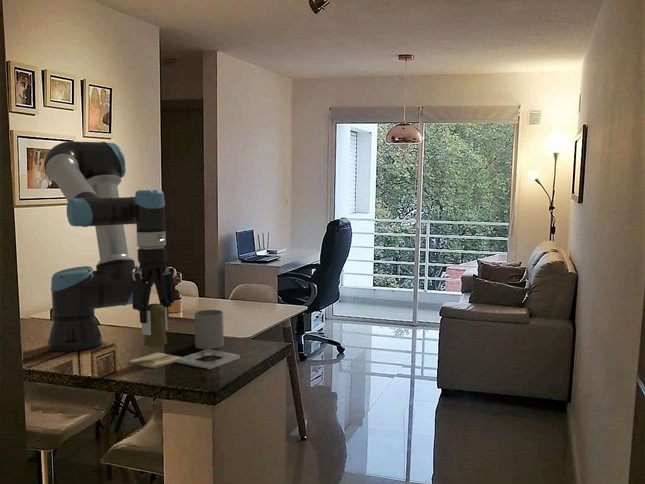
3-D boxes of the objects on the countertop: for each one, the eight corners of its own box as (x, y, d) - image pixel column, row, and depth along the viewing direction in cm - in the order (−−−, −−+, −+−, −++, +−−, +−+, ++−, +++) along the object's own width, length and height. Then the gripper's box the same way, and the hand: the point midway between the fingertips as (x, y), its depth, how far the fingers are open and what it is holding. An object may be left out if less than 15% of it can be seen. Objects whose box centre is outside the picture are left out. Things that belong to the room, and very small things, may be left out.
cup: (217, 349, 183) (216, 316, 182) (190, 348, 184) (189, 315, 184) (227, 342, 191) (226, 310, 190) (202, 341, 193) (201, 309, 192)
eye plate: (177, 362, 170) (176, 359, 170) (207, 352, 180) (207, 348, 180) (209, 369, 164) (209, 365, 163) (239, 358, 174) (239, 354, 173)
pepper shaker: (171, 342, 172) (170, 303, 171) (155, 347, 167) (153, 307, 166) (156, 340, 175) (154, 301, 174) (139, 345, 170) (137, 305, 169)
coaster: (129, 362, 170) (129, 360, 170) (157, 354, 179) (157, 352, 178) (154, 368, 165) (154, 366, 165) (182, 359, 173) (182, 357, 173)
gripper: (134, 251, 159) (137, 341, 161) (186, 245, 174) (189, 327, 176) (114, 249, 163) (118, 337, 165) (167, 243, 178) (170, 324, 180)
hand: (155, 332), depth 171 cm, fingers closed on pepper shaker, 5 cm apart
